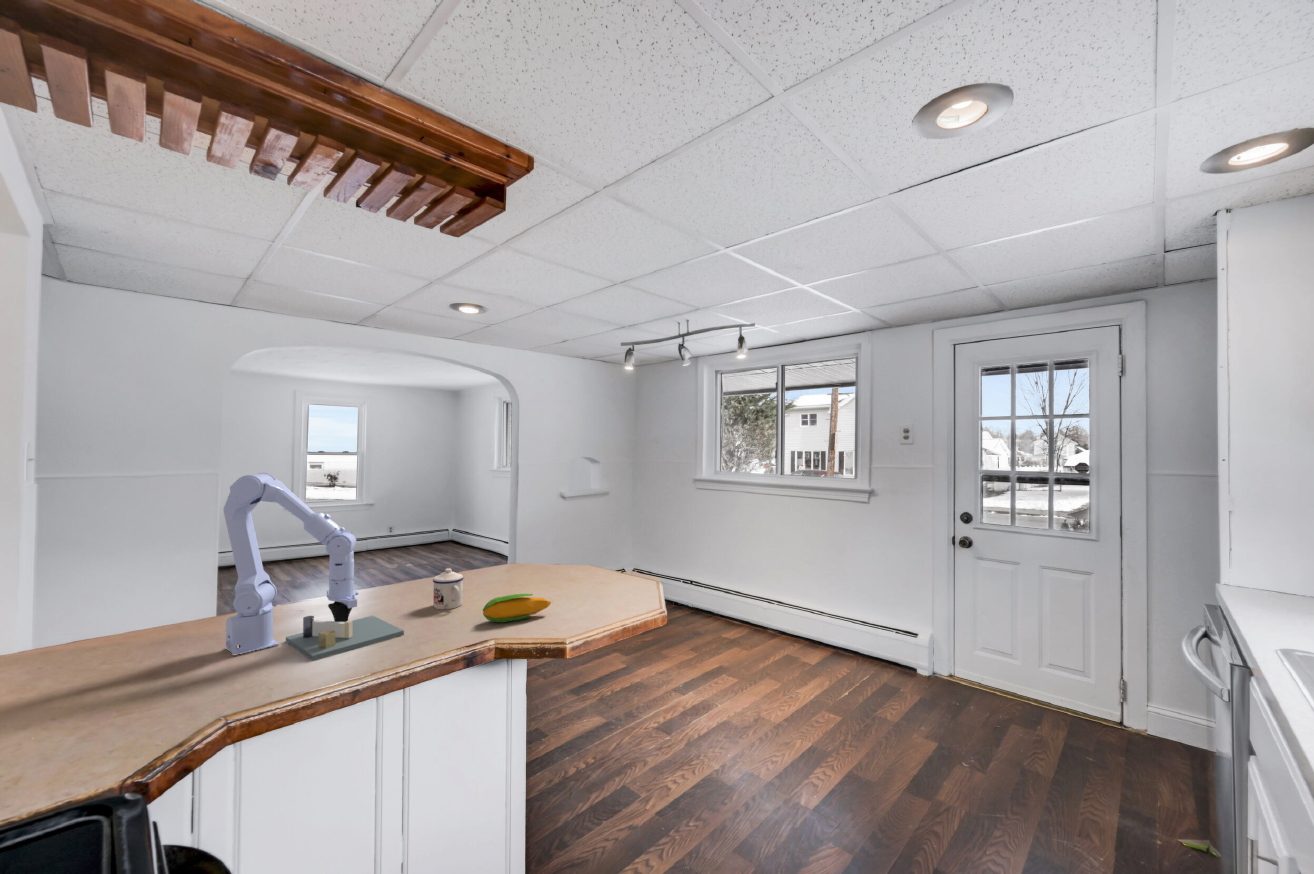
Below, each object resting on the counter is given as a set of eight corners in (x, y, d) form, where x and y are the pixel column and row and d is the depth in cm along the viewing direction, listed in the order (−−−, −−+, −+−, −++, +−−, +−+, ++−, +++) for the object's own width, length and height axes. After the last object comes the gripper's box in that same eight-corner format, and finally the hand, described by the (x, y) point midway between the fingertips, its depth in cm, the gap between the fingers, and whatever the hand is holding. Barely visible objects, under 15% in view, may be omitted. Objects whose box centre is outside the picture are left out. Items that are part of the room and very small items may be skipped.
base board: (312, 660, 130) (312, 655, 130) (285, 641, 142) (285, 636, 142) (403, 634, 147) (403, 630, 147) (372, 619, 159) (372, 615, 159)
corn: (480, 594, 159) (546, 585, 169) (480, 619, 159) (546, 609, 169) (485, 602, 152) (554, 593, 162) (485, 629, 153) (553, 617, 163)
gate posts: (322, 649, 134) (322, 629, 133) (301, 636, 142) (301, 617, 142) (336, 646, 136) (336, 626, 136) (315, 632, 145) (315, 614, 145)
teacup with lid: (428, 605, 173) (428, 568, 173) (455, 599, 179) (456, 564, 179) (443, 614, 164) (443, 575, 164) (472, 607, 170) (472, 570, 170)
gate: (312, 635, 142) (312, 620, 142) (316, 633, 143) (316, 618, 143) (348, 637, 140) (348, 622, 140) (352, 635, 142) (352, 620, 142)
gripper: (369, 579, 142) (369, 631, 142) (346, 570, 152) (346, 619, 152) (340, 585, 137) (340, 639, 137) (318, 575, 146) (318, 626, 146)
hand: (341, 629), depth 144 cm, fingers closed, pressing on gate
